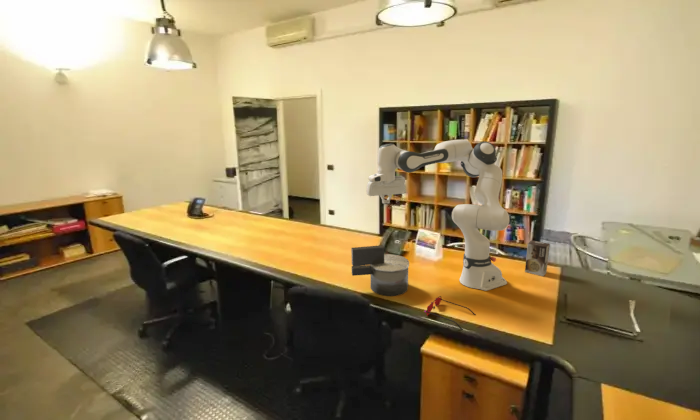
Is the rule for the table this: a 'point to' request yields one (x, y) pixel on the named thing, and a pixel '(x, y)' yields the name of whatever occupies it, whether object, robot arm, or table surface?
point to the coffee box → (537, 257)
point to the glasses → (438, 305)
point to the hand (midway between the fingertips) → (386, 203)
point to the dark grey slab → (378, 259)
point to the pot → (384, 280)
